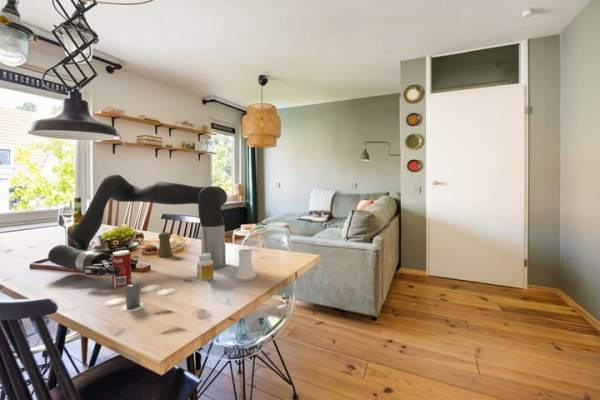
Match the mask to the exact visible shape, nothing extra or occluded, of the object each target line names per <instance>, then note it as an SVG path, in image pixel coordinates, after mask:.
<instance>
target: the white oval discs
mask: <svg viewBox="0 0 600 400" xmlns="http://www.w3.org/2000/svg"><path fill="white" fill-rule="evenodd" d="M161 288H162V287H161V285H159V284H158V285H157V284H153V285H147V286H144V287H142V288H141V289H140V292H143V293H152V292H155V291H158V292H157V293H156V295H157V296H158V297H167V296H168V297H169V296H172V295H174V294H176V293H177V292H178V289H176V288H165V289H161ZM160 289H161V290H160ZM124 304H125V305H124ZM122 305H123V306H122ZM103 306H105V307H108V308H114V307H118V306H122V307H121V308H120V311H121V312H123V313H124V312H125V313H131V312H136V311H140V310H141V309H143V308H144V307H145V306H146V304H145V302H141V301H140V307H138V308H136V309H131V310H128V309H126V297H122V298H121V297H118V298H114V299H110V300H107V301H105V302H104V303H103Z"/></svg>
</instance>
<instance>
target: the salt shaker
mask: <svg viewBox="0 0 600 400" xmlns="http://www.w3.org/2000/svg"><path fill="white" fill-rule="evenodd" d="M252 253H253V250H252V249H250V248H249V249H247V248H246V249H240V250H238V257H239V260H238V267H237V270H236V273H235V275H234V279H235V280H237V281H240V282H241V281H242V282H245V281H247V282H248V281H252V280H255V279H256V278H257V277H256V276H257V274H256V273H255V270H254V268H253V262H252Z"/></svg>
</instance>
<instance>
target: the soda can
mask: <svg viewBox="0 0 600 400" xmlns="http://www.w3.org/2000/svg"><path fill="white" fill-rule="evenodd" d="M131 259H132V258H131V252H130V250H127V249H125V250H124V249H123V250H118V251H117V250H115V251H113V252H112V267H117V268H119V275H113V274H111V275H112V276H111V277H112V286H113V288H123V287H125V286H126V285H128V284H131V283H132V270H131Z"/></svg>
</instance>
